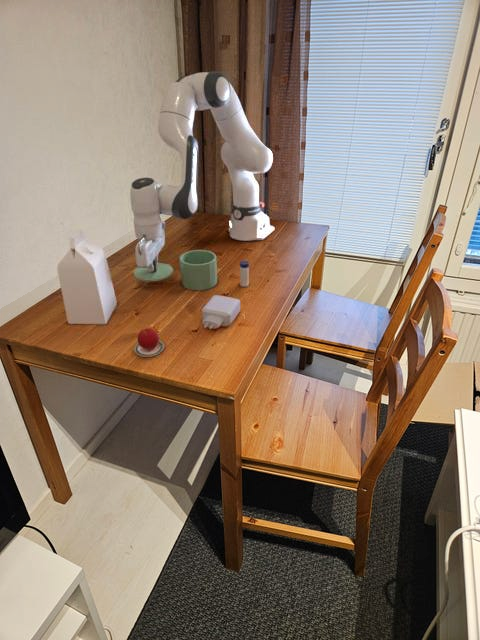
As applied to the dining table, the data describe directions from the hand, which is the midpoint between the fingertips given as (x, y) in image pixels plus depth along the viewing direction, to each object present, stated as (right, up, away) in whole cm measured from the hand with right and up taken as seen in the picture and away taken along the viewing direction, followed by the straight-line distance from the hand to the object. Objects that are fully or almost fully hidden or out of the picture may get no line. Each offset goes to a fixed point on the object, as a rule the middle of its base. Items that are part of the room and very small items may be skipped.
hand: (153, 268), depth 143 cm
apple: (+5, -26, -30) cm, 40 cm away
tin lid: (0, -1, +1) cm, 2 cm away
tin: (+16, -4, +4) cm, 17 cm away
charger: (+24, -19, -18) cm, 35 cm away
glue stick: (+32, -6, +2) cm, 32 cm away
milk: (-16, -16, -14) cm, 27 cm away
